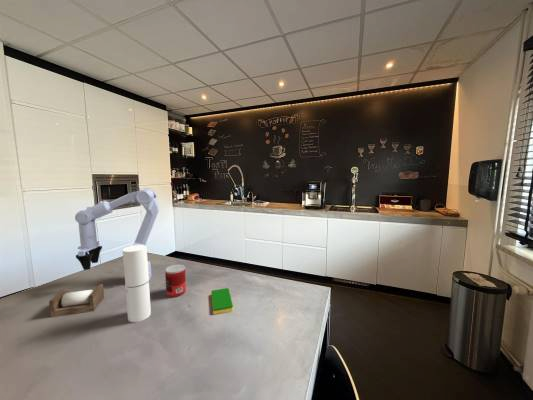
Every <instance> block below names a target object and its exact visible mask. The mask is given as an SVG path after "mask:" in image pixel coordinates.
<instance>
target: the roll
mask: <svg viewBox="0 0 533 400" xmlns="http://www.w3.org/2000/svg"><path fill="white" fill-rule="evenodd" d="M93 291H94V290H93V289H86V290H80V291H79V290H78V291H71V292H70V291H68V293H65V294H64V295H63V297H62V301H61V304H62V307H70V306H77V305H84V304H90V303H89V295H90V294H91V293H92V292H93Z"/></svg>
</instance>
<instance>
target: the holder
mask: <svg viewBox="0 0 533 400" xmlns="http://www.w3.org/2000/svg"><path fill="white" fill-rule="evenodd" d="M65 293H69V289H68V287H67V288H63V289H62V290H60V292H59V293H57V294H55V295H54V296H53V297H52V298H51V299H49V301H48V303H49V312H50V318H54V317H62V316H68V315H75V314H82V313H88V312H95V310H96V309H97V307H98V306H99V305H100V304H101V303H102V301H103V300H104V299H105V292H104V284H103V283H99V284H98V285H97V287H95V289H94V290H93V292H92V293H91V294H90V295H89V303H90V304H84V305H77V306H70V307H62V304H61V301H62V297H63V295H64V294H65Z"/></svg>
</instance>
